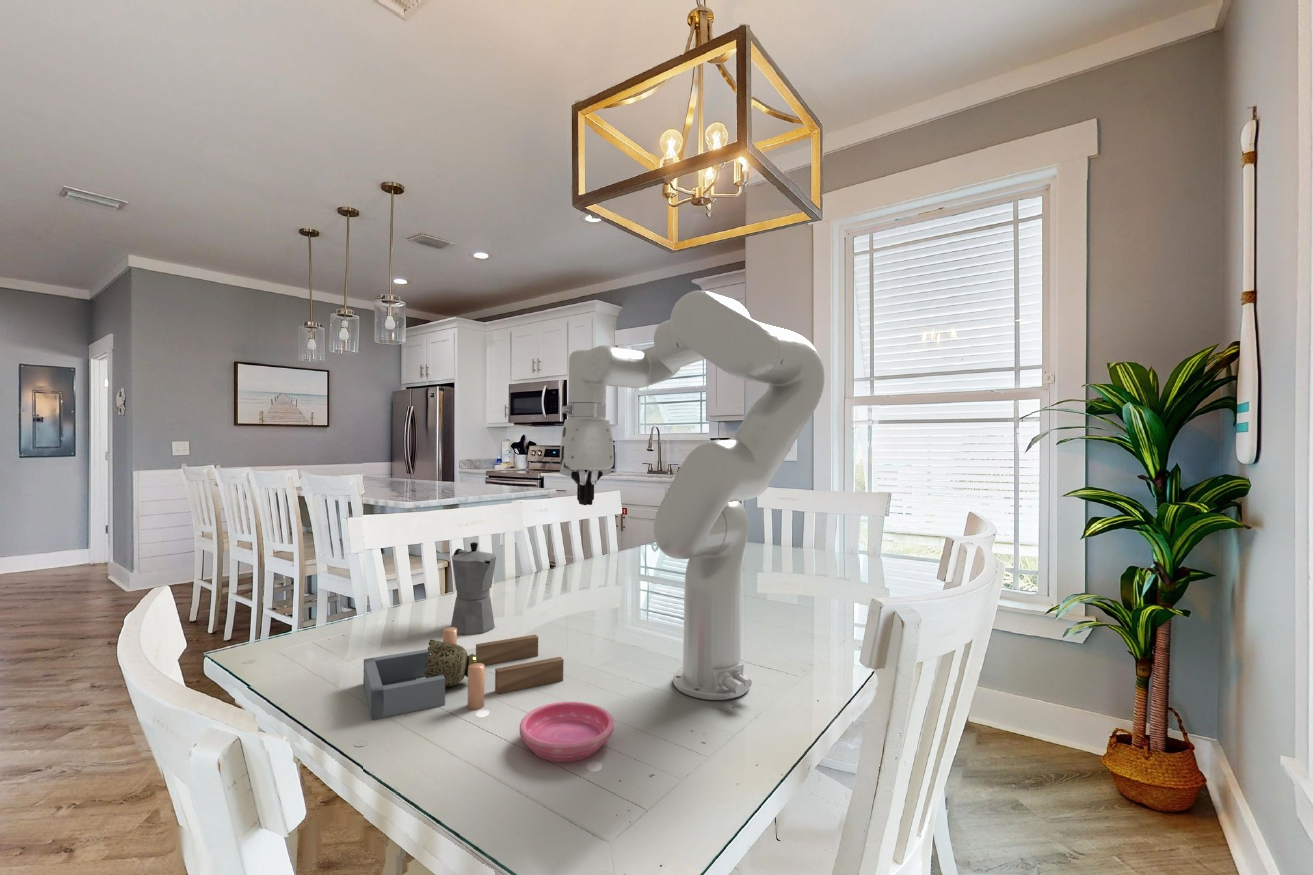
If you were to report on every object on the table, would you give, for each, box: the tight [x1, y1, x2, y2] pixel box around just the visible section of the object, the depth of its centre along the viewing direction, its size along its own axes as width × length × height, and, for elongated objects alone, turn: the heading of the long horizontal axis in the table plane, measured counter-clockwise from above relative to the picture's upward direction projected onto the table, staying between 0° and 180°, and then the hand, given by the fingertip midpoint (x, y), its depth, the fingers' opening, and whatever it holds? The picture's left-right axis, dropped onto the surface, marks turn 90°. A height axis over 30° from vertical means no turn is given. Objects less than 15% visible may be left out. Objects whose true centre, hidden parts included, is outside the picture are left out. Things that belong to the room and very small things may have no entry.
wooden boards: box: [475, 634, 565, 695], centre depth 103 cm, size 14×11×4 cm
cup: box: [424, 639, 477, 688], centre depth 98 cm, size 8×7×8 cm
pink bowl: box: [519, 701, 615, 763], centre depth 80 cm, size 12×12×3 cm
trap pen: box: [362, 648, 446, 721], centre depth 94 cm, size 14×10×4 cm
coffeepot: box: [450, 541, 497, 636], centre depth 127 cm, size 15×9×18 cm, turn 44°
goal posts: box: [442, 626, 486, 710], centre depth 99 cm, size 21×2×6 cm, turn 30°
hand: (585, 504), depth 120 cm, fingers closed
